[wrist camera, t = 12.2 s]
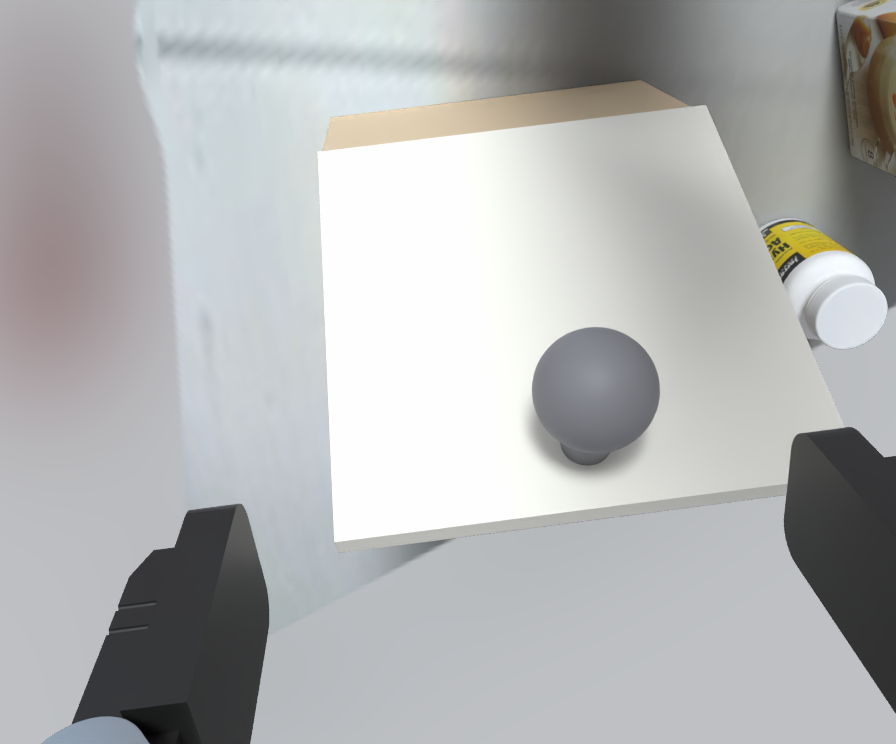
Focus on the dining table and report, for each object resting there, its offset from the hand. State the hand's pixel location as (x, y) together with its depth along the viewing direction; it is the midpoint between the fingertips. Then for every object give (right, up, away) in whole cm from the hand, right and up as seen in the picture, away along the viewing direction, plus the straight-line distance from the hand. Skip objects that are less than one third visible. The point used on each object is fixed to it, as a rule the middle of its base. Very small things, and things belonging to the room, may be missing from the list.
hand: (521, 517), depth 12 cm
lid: (+3, +5, +22) cm, 23 cm away
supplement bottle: (+20, +10, +42) cm, 48 cm away
